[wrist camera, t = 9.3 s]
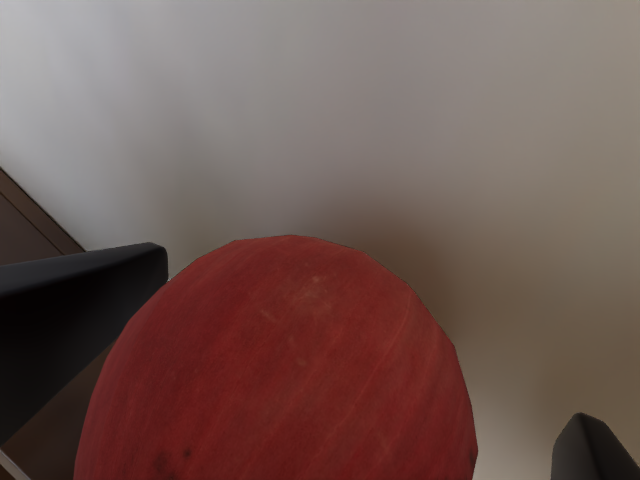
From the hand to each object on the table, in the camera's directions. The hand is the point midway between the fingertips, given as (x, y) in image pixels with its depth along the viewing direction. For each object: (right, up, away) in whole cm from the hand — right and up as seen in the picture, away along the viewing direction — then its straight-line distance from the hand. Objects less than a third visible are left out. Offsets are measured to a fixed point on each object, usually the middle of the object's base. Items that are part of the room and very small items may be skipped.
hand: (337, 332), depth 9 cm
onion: (+1, +1, +1) cm, 2 cm away
